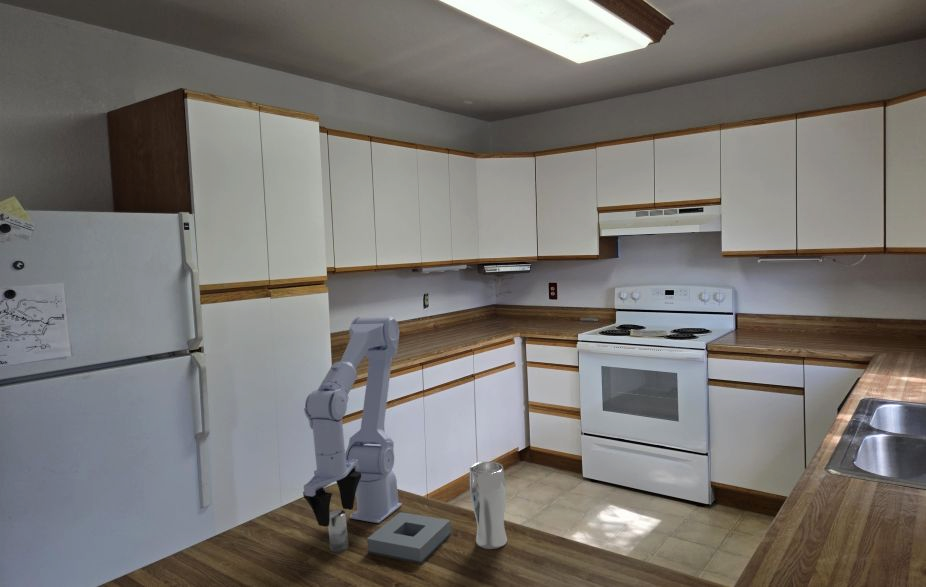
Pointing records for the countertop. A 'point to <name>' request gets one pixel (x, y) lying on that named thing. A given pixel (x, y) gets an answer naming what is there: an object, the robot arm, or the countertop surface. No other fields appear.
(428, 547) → the hole block
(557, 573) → the countertop surface
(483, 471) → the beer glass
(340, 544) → the peg
